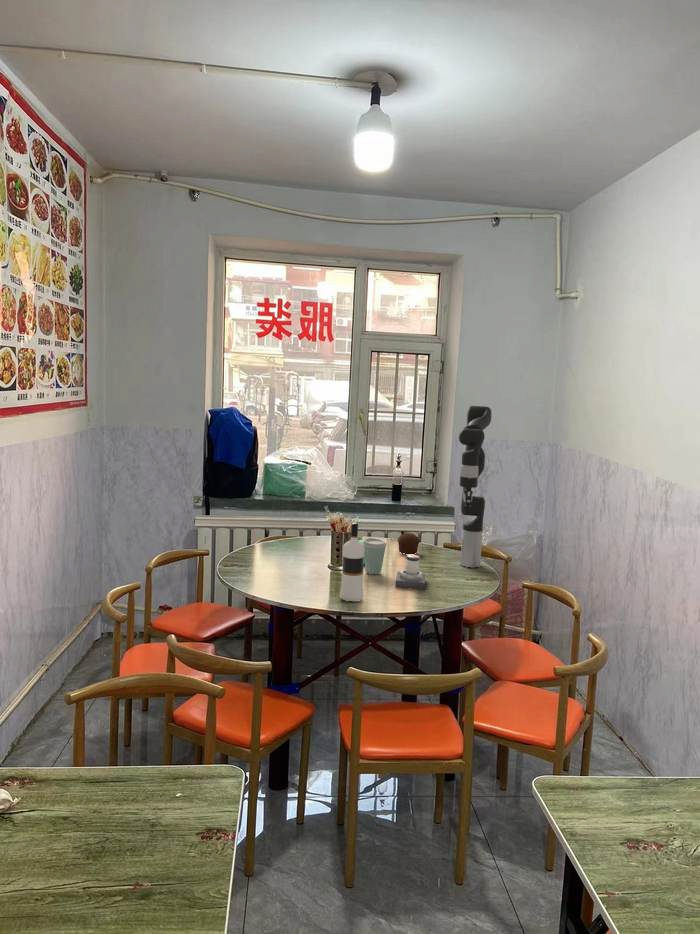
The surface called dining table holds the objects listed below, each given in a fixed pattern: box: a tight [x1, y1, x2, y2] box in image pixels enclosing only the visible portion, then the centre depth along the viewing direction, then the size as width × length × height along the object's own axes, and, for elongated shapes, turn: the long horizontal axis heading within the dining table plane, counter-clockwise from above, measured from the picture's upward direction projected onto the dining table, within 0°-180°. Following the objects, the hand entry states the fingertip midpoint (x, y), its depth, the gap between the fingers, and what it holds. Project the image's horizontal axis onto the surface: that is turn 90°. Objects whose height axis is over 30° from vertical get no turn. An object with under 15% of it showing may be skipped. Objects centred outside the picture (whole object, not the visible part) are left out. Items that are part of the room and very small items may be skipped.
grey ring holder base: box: [394, 569, 426, 591], centre depth 288 cm, size 14×12×5 cm
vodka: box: [339, 522, 365, 601], centre depth 262 cm, size 9×9×30 cm
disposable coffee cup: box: [362, 537, 387, 575], centre depth 301 cm, size 11×11×15 cm
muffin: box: [396, 532, 421, 554], centre depth 341 cm, size 12×11×10 cm
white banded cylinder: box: [404, 554, 420, 575], centre depth 287 cm, size 6×6×9 cm
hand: (466, 513), depth 292 cm, fingers open, 8 cm apart
